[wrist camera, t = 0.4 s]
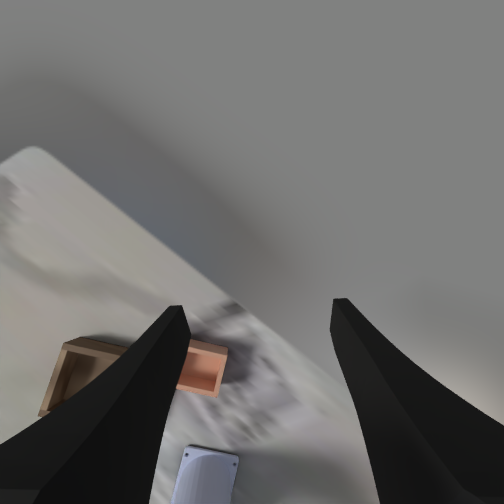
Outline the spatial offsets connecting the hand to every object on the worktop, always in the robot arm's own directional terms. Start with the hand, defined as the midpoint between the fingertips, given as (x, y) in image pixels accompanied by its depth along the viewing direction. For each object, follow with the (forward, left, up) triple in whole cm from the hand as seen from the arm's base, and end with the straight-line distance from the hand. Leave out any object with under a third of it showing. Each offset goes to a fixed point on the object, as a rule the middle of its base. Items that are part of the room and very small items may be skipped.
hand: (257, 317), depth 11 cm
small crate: (-11, +4, -26) cm, 29 cm away
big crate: (-16, +15, -26) cm, 34 cm away
